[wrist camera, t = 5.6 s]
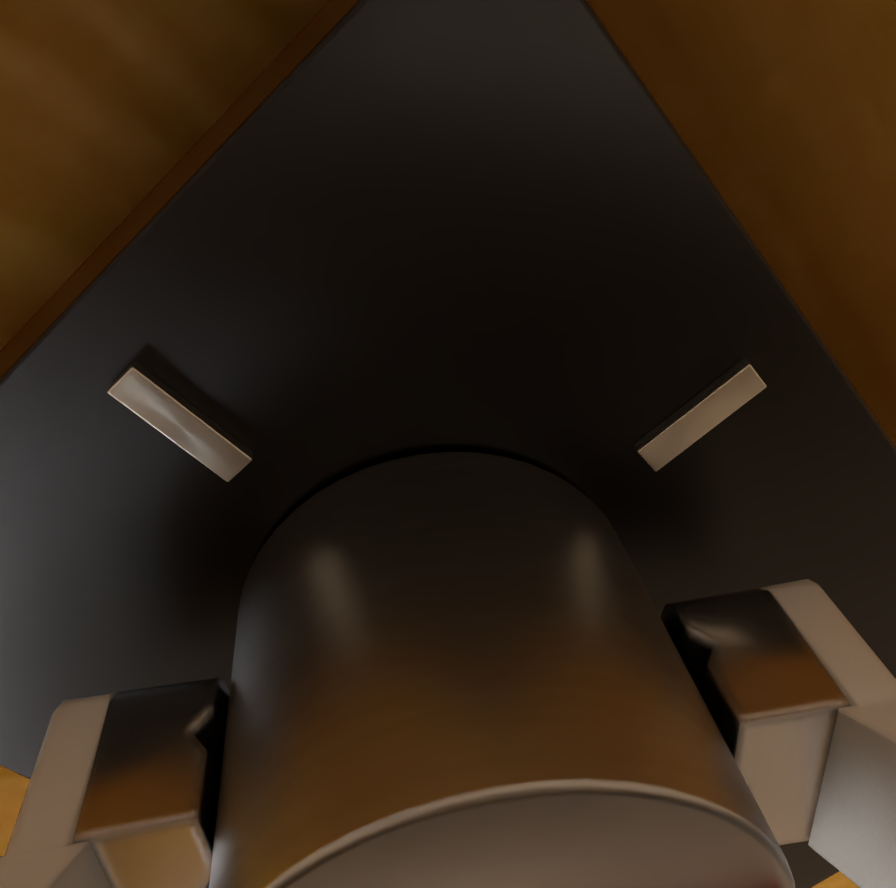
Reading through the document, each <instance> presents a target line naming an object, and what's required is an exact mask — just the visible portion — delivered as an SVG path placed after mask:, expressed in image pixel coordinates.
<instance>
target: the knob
mask: <svg viewBox="0 0 896 888" xmlns="http://www.w3.org/2000/svg"><path fill="white" fill-rule="evenodd" d="M209 888H795V882H794V878H793V876H792V873H791V870H790V867H789V864H788V862H787V859H786V857H785V855H784V854H783V852H782V850H781V848H780V846H779V844H778V842H777V840H776V838H775V836H774V834H773V832H772V831H771V829H770V827H769V825H768V823H767V821H766V819H765V817H764V815H763V813H762V811H761V809H760V808H759V806H758V804H757V802H756V800H755V798H754V796H753V794H752V792H751V790H750V788H749V786H748V785H747V783H746V781H745V779H744V777H743V775H742V773H741V771H740V769H739V767H738V765H737V763H736V762H735V760H734V758H733V756H732V754H731V752H730V750H729V748H728V746H727V744H726V742H725V740H724V739H723V737H722V735H721V733H720V731H719V729H718V727H717V725H716V723H715V721H714V719H713V717H712V716H711V714H710V712H709V710H708V708H707V706H706V704H705V702H704V700H703V698H702V696H701V694H700V693H699V691H698V689H697V687H696V685H695V683H694V681H693V679H692V677H691V675H690V673H689V671H688V670H687V668H686V666H685V664H684V662H683V660H682V658H681V656H680V654H679V652H678V650H677V648H676V647H675V645H674V643H673V641H672V639H671V637H670V635H669V633H668V631H667V629H666V627H665V625H664V624H663V622H662V620H661V618H660V616H659V614H658V612H657V610H656V608H655V606H654V604H653V602H652V601H651V599H650V597H649V595H648V593H647V591H646V589H645V587H644V585H643V583H642V581H641V579H640V578H639V576H638V574H637V572H636V570H635V568H634V566H633V564H632V562H631V560H630V558H629V556H628V555H627V553H626V551H625V549H624V547H623V545H622V543H621V541H620V539H619V537H618V535H617V534H616V532H615V530H614V529H613V527H612V526H611V524H610V522H609V521H608V519H607V518H606V516H605V515H604V514H603V513H602V512H601V511H600V509H599V508H598V507H597V506H596V505H595V504H594V503H593V502H592V501H591V500H590V499H589V498H588V497H587V496H585V495H584V494H583V493H582V492H581V491H579V490H578V489H577V488H576V487H574V486H573V485H571V484H569V483H568V482H566V481H564V480H563V479H561V478H559V477H558V476H556V475H554V474H552V473H550V472H548V471H545V470H543V469H541V468H538V467H536V466H534V465H531V464H529V463H525V462H522V461H518V460H515V459H511V458H507V457H504V456H497V455H491V454H484V453H477V452H438V453H426V454H418V455H413V456H408V457H403V458H398V459H393V460H389V461H386V462H383V463H380V464H377V465H374V466H370V467H367V468H364V469H362V470H360V471H358V472H355V473H353V474H351V475H349V476H346V477H344V478H342V479H340V480H338V481H336V482H335V483H333V484H331V485H330V486H328V487H326V488H325V489H323V490H321V491H320V492H318V493H316V494H315V495H313V496H312V497H311V498H310V499H308V500H307V501H306V502H304V503H303V504H302V505H301V506H299V507H298V508H297V509H295V510H294V511H293V512H292V513H291V514H290V515H289V516H288V517H287V518H286V519H285V520H284V521H283V522H282V523H281V524H280V525H279V526H278V527H277V528H276V529H275V531H274V532H273V533H272V535H271V536H270V537H269V539H268V540H267V541H266V543H265V544H264V545H263V547H262V548H261V549H260V551H259V553H258V555H257V557H256V558H255V560H254V562H253V564H252V566H251V568H250V569H249V572H248V575H247V578H246V581H245V583H244V586H243V589H242V593H241V599H240V605H239V611H238V620H237V629H236V638H235V648H234V657H233V667H232V676H231V686H230V695H229V704H228V714H227V723H226V733H225V742H224V752H223V761H222V770H221V780H220V789H219V799H218V808H217V817H216V827H215V836H214V846H213V855H212V865H211V874H210V883H209Z"/></svg>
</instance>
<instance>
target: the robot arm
mask: <svg viewBox="0 0 896 888" xmlns="http://www.w3.org/2000/svg"><path fill="white" fill-rule="evenodd" d="M661 620H662V622H663V624H664V625H665V627H666V629H667V631H668V633H669V635H670V637H671V639H672V641H673V643H674V645H675V647H676V648H677V650H678V652H679V654H680V656H681V658H682V660H683V662H684V664H685V666H686V668H687V670H688V671H689V673H690V675H691V677H692V679H693V681H694V683H695V685H696V687H697V689H698V691H699V693H700V694H701V696H702V698H703V700H704V702H705V704H706V706H707V708H708V710H709V712H710V714H711V716H712V717H713V719H714V721H715V723H716V725H717V727H718V729H719V731H720V733H721V735H722V737H723V739H724V740H725V742H726V744H727V746H728V748H729V750H730V752H731V754H732V756H733V758H734V760H735V762H736V763H737V765H738V767H739V769H740V771H741V773H742V775H743V777H744V779H745V781H746V783H747V785H748V786H749V788H750V790H751V792H752V794H753V796H754V798H755V800H756V802H757V804H758V806H759V808H760V809H761V811H762V813H763V815H764V817H765V819H766V821H767V823H768V825H769V827H770V829H771V831H772V832H773V834H774V836H775V838H776V840H777V842H778V844H779V845H783V844H790V843H796V842H802V841H809V844H808V846H810V847H811V848H812V849H813V850H815V851H816V852H817V853H818V854H819V855H821V856H822V857H823V858H824V859H826V860H827V861H828V862H829V863H830V864H832V865H833V866H834V867H835V868H837V869H838V870H839V871H840V872H842V873H843V874H844V875H845V876H846V877H848V878H849V879H850V880H851V881H853V882H854V883H855V884H856V885H857V886H859V887H860V888H896V679H895V677H894V676H893V675H892V674H891V673H890V671H889V670H888V669H887V668H886V666H885V665H884V664H883V663H882V662H881V660H880V659H879V658H878V657H877V655H876V654H875V653H874V652H873V651H872V649H871V648H870V647H869V646H868V644H867V643H866V642H865V641H864V640H863V638H862V637H861V636H860V635H859V633H858V632H857V631H856V630H855V629H854V627H853V626H852V625H851V624H850V622H849V621H848V620H847V619H846V618H845V616H844V615H843V614H842V613H841V611H840V610H839V609H838V608H837V607H836V605H835V604H834V603H833V602H832V600H831V599H830V598H829V597H828V596H827V594H826V593H825V592H824V591H823V589H822V588H821V587H820V586H819V585H818V584H817V583H815V582H813V581H811V580H809V579H805V580H799V581H794V582H788V583H782V584H777V585H771V586H765V587H761V588H760V589H750V590H744V591H738V592H732V593H727V594H721V595H715V596H709V597H704V598H698V599H692V600H686V601H680V602H675V603H669V604H665V606H664V608H663V611H662V613H661ZM229 695H230V692H229V689H228V687H227V684H226V681H225V680H223V679H221V678H213V679H205V680H198V681H191V682H184V683H177V684H170V685H162V686H155V687H148V688H141V689H134V690H126V691H119V692H117V693H114V694H107V695H99V696H92V697H84V698H77V699H69V700H64V701H63V702H62V703H61V704H60V706H59V707H58V708H57V709H56V710H55V712H54V713H53V714H52V717H51V720H50V723H49V726H48V729H47V732H46V735H45V738H44V741H43V743H42V746H41V749H40V752H39V755H38V758H37V761H36V764H35V767H34V770H33V773H32V776H31V779H30V782H29V785H28V788H27V791H26V793H25V796H24V799H23V802H22V805H21V808H20V811H19V814H18V817H17V820H16V823H15V826H14V829H13V832H12V835H11V838H10V841H9V844H8V846H7V849H6V852H5V855H4V856H0V888H209V883H210V874H211V865H212V855H213V846H214V836H215V827H216V817H217V808H218V799H219V789H220V780H221V770H222V761H223V752H224V742H225V733H226V723H227V714H228V704H229Z"/></svg>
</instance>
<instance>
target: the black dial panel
mask: <svg viewBox="0 0 896 888" xmlns="http://www.w3.org/2000/svg"><path fill="white" fill-rule="evenodd" d="M438 452H477V453H484V454H491V455H497V456H504V457H507V458H511V459H515V460H518V461H522V462H525V463H529V464H531V465H534V466H536V467H538V468H541V469H543V470H545V471H548V472H550V473H552V474H554V475H556V476H558V477H559V478H561V479H563V480H564V481H566V482H568V483H569V484H571V485H573V486H574V487H576V488H577V489H578V490H579V491H581V492H582V493H583V494H584V495H585V496H587V497H588V498H589V499H590V500H591V501H592V502H593V503H594V504H595V505H596V506H597V507H598V508H599V509H600V511H601V512H602V513H603V514H604V515H605V516H606V518H607V519H608V521H609V522H610V524H611V526H612V527H613V529H614V530H615V532H616V534H617V535H618V537H619V539H620V541H621V543H622V545H623V547H624V549H625V551H626V553H627V555H628V556H629V558H630V560H631V562H632V564H633V566H634V568H635V570H636V572H637V574H638V576H639V578H640V579H641V581H642V583H643V585H644V587H645V589H646V591H647V593H648V595H649V597H650V599H651V601H652V602H653V604H654V606H655V608H656V610H657V612H658V614H659V616H660V618H661V613H662V611H663V608H664V606H665V604H669V603H675V602H680V601H686V600H692V599H698V598H704V597H709V596H715V595H721V594H727V593H732V592H738V591H744V590H750V589H760V588H761V587H765V586H771V585H777V584H782V583H788V582H794V581H799V580H805V579H809V580H811V581H813V582H815V583H817V584H818V585H819V586H820V587H821V588H822V589H823V591H824V592H825V593H826V594H827V596H828V597H829V598H830V599H831V600H832V602H833V603H834V604H835V605H836V607H837V608H838V609H839V610H840V611H841V613H842V614H843V615H844V616H845V618H846V619H847V620H848V621H849V622H850V624H851V625H852V626H853V627H854V629H855V630H856V631H857V632H858V633H859V635H860V636H861V637H862V638H863V640H864V641H865V642H866V643H867V644H868V646H869V647H870V648H871V649H872V651H873V652H874V653H875V654H876V655H877V657H878V658H879V659H880V660H881V662H882V663H883V664H884V665H885V666H886V668H887V669H888V670H889V671H890V673H891V674H892V675H893V676H894V677H895V679H896V447H895V446H894V444H893V443H892V441H891V440H890V438H889V437H888V436H887V434H886V433H885V431H884V430H883V428H882V427H881V425H880V424H879V423H878V421H877V420H876V418H875V417H874V415H873V414H872V412H871V411H870V410H869V408H868V407H867V405H866V404H865V402H864V401H863V399H862V398H861V397H860V395H859V394H858V392H857V391H856V389H855V388H854V386H853V385H852V384H851V382H850V381H849V379H848V378H847V376H846V375H845V373H844V372H843V371H842V369H841V368H840V366H839V365H838V363H837V362H836V360H835V359H834V358H833V356H832V355H831V353H830V352H829V350H828V349H827V347H826V346H825V345H824V343H823V342H822V340H821V339H820V337H819V336H818V334H817V333H816V332H815V330H814V329H813V327H812V326H811V324H810V323H809V321H808V320H807V319H806V317H805V316H804V314H803V313H802V311H801V310H800V308H799V307H798V306H797V304H796V303H795V301H794V300H793V298H792V297H791V295H790V294H789V293H788V291H787V290H786V288H785V287H784V285H783V284H782V282H781V281H780V280H779V278H778V277H777V275H776V274H775V272H774V271H773V269H772V268H771V267H770V265H769V264H768V262H767V261H766V259H765V258H764V256H763V255H762V254H761V252H760V251H759V249H758V248H757V246H756V245H755V243H754V242H753V241H752V239H751V238H750V236H749V235H748V233H747V232H746V230H745V229H744V228H743V226H742V225H741V223H740V222H739V220H738V219H737V217H736V216H735V215H734V213H733V212H732V210H731V209H730V207H729V206H728V204H727V203H726V202H725V200H724V199H723V197H722V196H721V194H720V193H719V192H718V190H717V189H716V187H715V186H714V184H713V183H712V181H711V180H710V179H709V177H708V176H707V174H706V173H705V171H704V170H703V168H702V167H701V166H700V164H699V163H698V161H697V160H696V158H695V157H694V155H693V154H692V153H691V151H690V150H689V148H688V147H687V145H686V144H685V142H684V141H683V140H682V138H681V137H680V135H679V134H678V132H677V131H676V129H675V128H674V127H673V125H672V124H671V122H670V121H669V119H668V118H667V116H666V115H665V114H664V112H663V111H662V109H661V108H660V106H659V105H658V103H657V102H656V101H655V99H654V98H653V96H652V95H651V93H650V92H649V90H648V89H647V88H646V86H645V85H644V83H643V82H642V80H641V79H640V77H639V76H638V75H637V73H636V72H635V70H634V69H633V67H632V66H631V64H630V63H629V62H628V60H627V59H626V57H625V56H624V54H623V53H622V51H621V50H620V49H619V47H618V46H617V44H616V43H615V41H614V40H613V38H612V37H611V36H610V34H609V33H608V31H607V30H606V28H605V27H604V25H603V24H602V23H601V21H600V20H599V18H598V17H597V15H596V14H595V12H594V11H593V10H592V8H591V7H590V5H589V4H588V2H587V1H586V0H330V1H329V2H328V3H327V4H326V5H325V6H324V7H323V8H322V9H321V11H320V12H319V13H318V14H317V15H316V16H315V17H314V18H313V19H312V20H311V21H310V22H309V23H308V24H307V25H306V26H305V28H304V29H303V30H302V31H301V32H300V33H299V34H298V35H297V36H296V37H295V38H294V39H293V40H292V41H291V42H290V44H289V45H288V46H287V47H286V48H285V49H284V50H283V51H282V52H281V53H280V54H279V55H278V56H277V57H276V58H275V60H274V61H273V62H272V63H271V64H270V65H269V66H268V67H267V68H266V69H265V70H264V71H263V72H262V73H261V74H260V75H259V77H258V78H257V79H256V80H255V81H254V82H253V83H252V84H251V85H250V86H249V87H248V88H247V89H246V90H245V91H244V93H243V94H242V95H241V96H240V97H239V98H238V99H237V100H236V101H235V102H234V103H233V104H232V105H231V106H230V107H229V109H228V110H227V111H226V112H225V113H224V114H223V115H222V116H221V117H220V118H219V119H218V120H217V121H216V122H215V123H214V124H213V126H212V127H211V128H210V129H209V130H208V131H207V132H206V133H205V134H204V135H203V136H202V137H201V138H200V139H199V140H198V142H197V143H196V144H195V145H194V146H193V147H192V148H191V149H190V150H189V151H188V152H187V153H186V154H185V155H184V156H183V158H182V159H181V160H180V161H179V162H178V163H177V164H176V165H175V166H174V167H173V168H172V169H171V170H170V171H169V172H168V174H167V175H166V176H165V177H164V178H163V179H162V180H161V181H160V182H159V183H158V184H157V185H156V186H155V187H154V188H153V189H152V191H151V192H150V193H149V194H148V195H147V196H146V197H145V198H144V199H143V200H142V201H141V202H140V203H139V204H138V205H137V207H136V208H135V209H134V210H133V211H132V212H131V213H130V214H129V215H128V216H127V217H126V218H125V219H124V220H123V221H122V223H121V224H120V225H119V226H118V227H117V228H116V229H115V230H114V231H113V232H112V233H111V234H110V235H109V236H108V237H107V238H106V240H105V241H104V242H103V243H102V244H101V245H100V246H99V247H98V248H97V249H96V250H95V251H94V252H93V253H92V254H91V256H90V257H89V258H88V259H87V260H86V261H85V262H84V263H83V264H82V265H81V266H80V267H79V268H78V269H77V270H76V272H75V273H74V274H73V275H72V276H71V277H70V278H69V279H68V280H67V281H66V282H65V283H64V284H63V285H62V286H61V287H60V289H59V290H58V291H57V292H56V293H55V294H54V295H53V296H52V297H51V298H50V299H49V300H48V301H47V302H46V303H45V305H44V306H43V307H42V308H41V309H40V310H39V311H38V312H37V313H36V314H35V315H34V316H33V317H32V318H31V319H30V321H29V322H28V323H27V324H26V325H25V326H24V327H23V328H22V329H21V330H20V331H19V332H18V333H17V334H16V335H15V337H14V338H13V339H12V340H11V341H10V342H9V343H8V344H7V345H6V346H5V347H4V348H3V349H2V350H1V351H0V765H1V766H3V767H5V768H8V769H10V770H12V771H14V772H16V773H18V774H20V775H22V776H25V777H27V778H29V779H31V776H32V773H33V770H34V767H35V764H36V761H37V758H38V755H39V752H40V749H41V746H42V743H43V741H44V738H45V735H46V732H47V729H48V726H49V723H50V720H51V717H52V714H53V713H54V712H55V710H56V709H57V708H58V707H59V706H60V704H61V703H62V702H63V701H64V700H69V699H77V698H84V697H92V696H99V695H107V694H114V693H117V692H119V691H126V690H134V689H141V688H148V687H155V686H162V685H170V684H177V683H184V682H191V681H198V680H205V679H213V678H221V679H223V680H225V681H226V684H227V687H228V689H229V692H230V686H231V676H232V667H233V657H234V648H235V638H236V629H237V620H238V611H239V605H240V599H241V593H242V589H243V586H244V583H245V581H246V578H247V575H248V572H249V569H250V568H251V566H252V564H253V562H254V560H255V558H256V557H257V555H258V553H259V551H260V549H261V548H262V547H263V545H264V544H265V543H266V541H267V540H268V539H269V537H270V536H271V535H272V533H273V532H274V531H275V529H276V528H277V527H278V526H279V525H280V524H281V523H282V522H283V521H284V520H285V519H286V518H287V517H288V516H289V515H290V514H291V513H292V512H293V511H294V510H295V509H297V508H298V507H299V506H301V505H302V504H303V503H304V502H306V501H307V500H308V499H310V498H311V497H312V496H313V495H315V494H316V493H318V492H320V491H321V490H323V489H325V488H326V487H328V486H330V485H331V484H333V483H335V482H336V481H338V480H340V479H342V478H344V477H346V476H349V475H351V474H353V473H355V472H358V471H360V470H362V469H364V468H367V467H370V466H374V465H377V464H380V463H383V462H386V461H389V460H393V459H398V458H403V457H408V456H413V455H418V454H426V453H438ZM808 844H809V841H802V842H796V843H790V844H783V845H779V846H780V848H781V850H782V852H783V854H784V855H785V857H786V859H787V862H788V864H789V867H790V870H791V873H792V876H793V878H794V882H795V888H811V887H813V886H815V885H816V884H818V883H820V882H822V881H823V880H825V879H827V878H828V877H830V876H832V875H834V874H835V873H837V872H839V870H838V869H837V868H835V867H834V866H833V865H832V864H830V863H829V862H828V861H827V860H826V859H824V858H823V857H822V856H821V855H819V854H818V853H817V852H816V851H815V850H813V849H812V848H811V847H810V846H808Z"/></svg>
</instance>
